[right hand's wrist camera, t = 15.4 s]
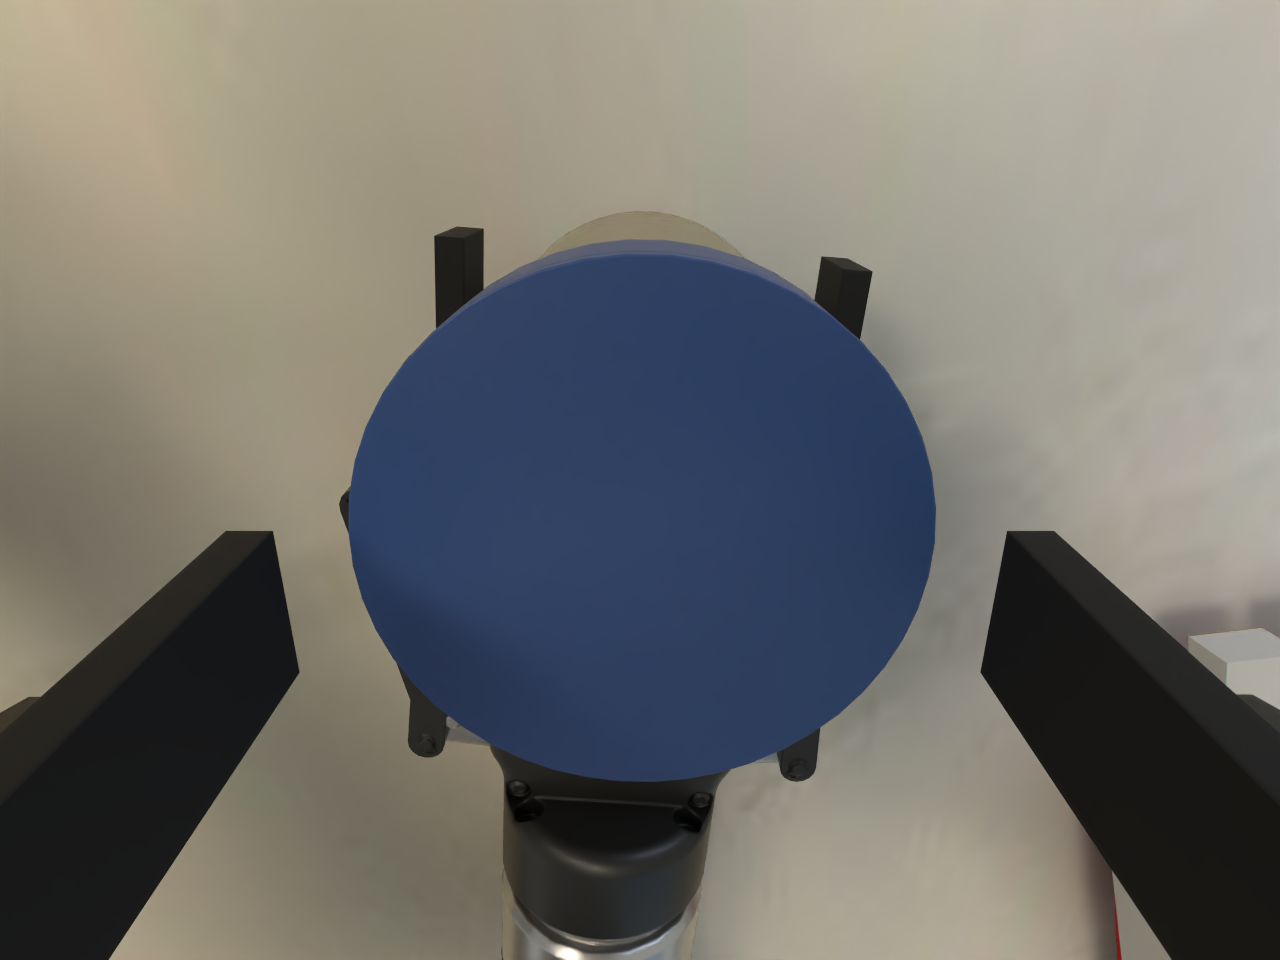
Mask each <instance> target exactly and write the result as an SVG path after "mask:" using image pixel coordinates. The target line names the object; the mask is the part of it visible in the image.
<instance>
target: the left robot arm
mask: <svg viewBox="0 0 1280 960" xmlns="http://www.w3.org/2000/svg"><path fill="white" fill-rule="evenodd" d="M434 240H435V294H436V329H437V328H438V327H439V326H440V325H441V324H442V323H444V322H445V321H446V320H447V319H448V318H449V317H451V316H452V315H453V314H454V313H455V312H456V311H457V310H459V309H460V308H461V307H462V306H463V305H465V304H466V303H467V302H469V301H470V300H471V299H472V298H474V297H475V296H476V295H477V294H479V293H480V292H481V291H482V290H483V258H484V229H481V228H468V227H455V228H452V229H450V230H448V231H445V232H443V233H440V234H438V235H435V236H434ZM871 277H872V271H870V270H868V269H867V268H865V267H863V266H861V265H859V264H857V263H855V262H853V261H851V260H849V259H847V258H835V257H822V258H821V264H820V270H819V276H818V282H817V289H816V295H815V302H817V303H818V304H819V305H820V306H821V307H822V308H824V309H825V310H826V311H827V312H828V313H829V314H830V315H832V316H833V317H834V318H835V319H836V320H837V321H839V322H840V323H841V324H842V325H843V326H844V327H846V328H847V329H848V330H849V331H850V332H851V333H852V334H854V335H855V336H856V337H857V338H858V339H859V340H860V336H861V331H862V326H863V320H864V315H865V310H866V304H867V299H868V293H869V288H870V283H871ZM407 359H408V358H407ZM350 488H351V486H350V487H349V489H348V490H347V491H346V492H345V493H344V495H343V496H342V497H341V500H340V503H339V505H340V511H341V514H342V517H343V519H344V522H345V525H346V528H347V530H348V533H349V494H350ZM396 663H397V662H396ZM397 665H398V664H397ZM398 668H399V671H400V673H401V676H402V679H403V681H404V684H405V687H406V690H407V692H408V695H409V698H410V716H409V733H408V744H409V747H410V749H411V750H412V751H413V752H414V753H415V754H417V755H418V756H422V757H434V756H437V755H439V754H440V753H441V752H442V751H443V748H444V745H445V742H446V741H454V742H461V743H469V744H477V745H485V746H490V748H491V751H492V754H493V756H494V757H495V759H496V760H497V761H498V763H499V765H500V766H501V768H502V771H503V774H504V824H503V863H504V870H503V875H502V960H690V958H691V953H692V947H693V941H694V935H695V928H696V922H697V916H698V909H699V903H700V896H701V880H702V877H703V873H704V866H705V859H706V852H707V846H708V839H709V832H710V825H711V819H712V812H713V806H714V799H715V793H716V789H717V787H718V785H719V783H720V781H721V780H722V779H723V778H724V777H725V775H726V774H727V773H728V772H729V771H730V770H731V769H730V770H726V771H723V772H720V773H715V774H709V775H704V776H699V777H694V778H688V779H679V780H667V781H656V782H642V781H615V780H606V779H598V778H589V777H584V776H579V775H575V774H570V773H566V772H562V771H557V770H553V769H550V768H547V767H544V766H541V765H538V764H536V763H533V762H530V761H527V760H524V759H521V758H519V757H517V756H515V755H513V754H510V753H508V752H506V751H504V750H502V749H500V748H498V747H495V746H493V745H491V744H490V743H488V742H486V741H485V740H483V739H481V738H480V737H478V736H477V735H475V734H473V733H472V732H470V731H468V730H467V729H465V728H463V727H462V726H461V725H460V724H458V723H457V722H456V721H454V720H453V719H452V718H450V717H449V716H448V715H447V714H445V713H444V712H443V711H441V710H440V709H439V708H438V707H437V706H435V705H434V704H433V703H432V702H431V701H430V700H429V699H428V698H427V697H426V696H425V695H424V694H423V693H422V692H421V691H420V690H419V689H418V688H417V687H416V686H415V685H414V684H413V683H412V681H411V680H410V679H409V678H408V676H407V675H406V674H405V673H404V671H403V670H402V669H401V667H400V666H399V665H398ZM819 734H820V728H819V729H817V730H816V731H814V732H813V733H812V734H810V735H808V736H806V737H804V738H803V739H801V740H799V741H797V742H796V743H794V744H792V745H790V746H788V747H787V748H785V749H783V750H781V751H778V752H776V753H774V754H771V755H769V756H767V757H764V758H762V759H760V760H757V761H755V762H779V766H780V771H781V774H782V775H783V776H784V778H786V779H788V780H790V781H796V782H798V781H804V780H806V779H808V778H810V777H811V776H812V775H813V774H814V772H815V769H816V762H817V753H818V743H819Z"/></svg>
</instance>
